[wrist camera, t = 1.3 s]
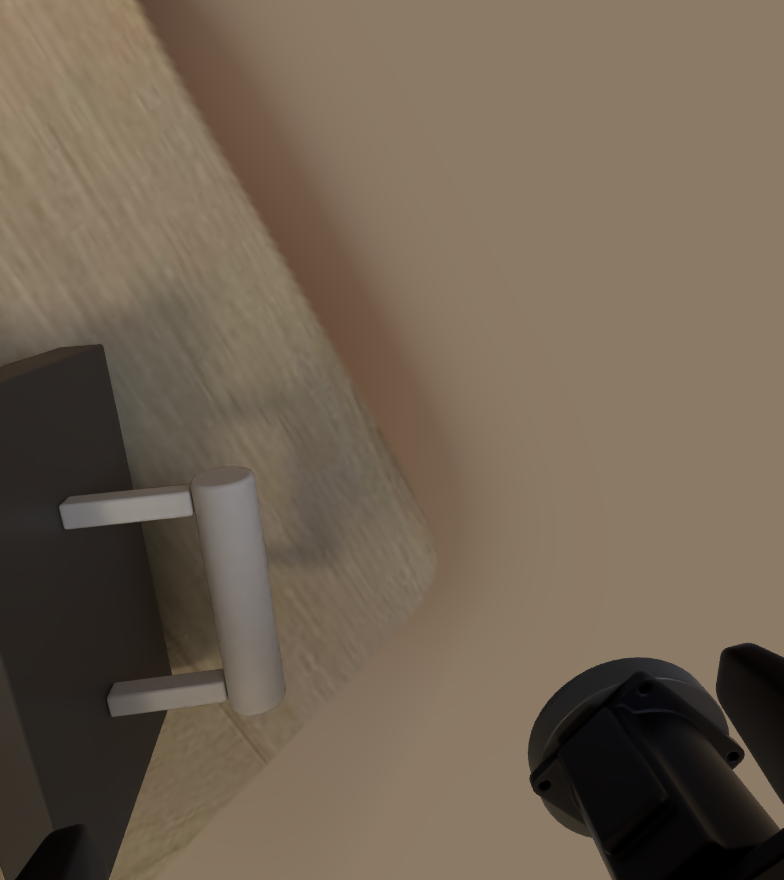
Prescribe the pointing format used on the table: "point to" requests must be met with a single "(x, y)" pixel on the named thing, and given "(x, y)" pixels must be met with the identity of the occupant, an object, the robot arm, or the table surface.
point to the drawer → (104, 606)
